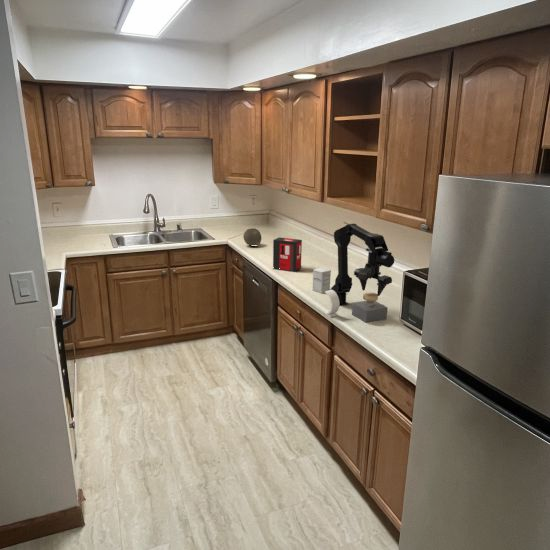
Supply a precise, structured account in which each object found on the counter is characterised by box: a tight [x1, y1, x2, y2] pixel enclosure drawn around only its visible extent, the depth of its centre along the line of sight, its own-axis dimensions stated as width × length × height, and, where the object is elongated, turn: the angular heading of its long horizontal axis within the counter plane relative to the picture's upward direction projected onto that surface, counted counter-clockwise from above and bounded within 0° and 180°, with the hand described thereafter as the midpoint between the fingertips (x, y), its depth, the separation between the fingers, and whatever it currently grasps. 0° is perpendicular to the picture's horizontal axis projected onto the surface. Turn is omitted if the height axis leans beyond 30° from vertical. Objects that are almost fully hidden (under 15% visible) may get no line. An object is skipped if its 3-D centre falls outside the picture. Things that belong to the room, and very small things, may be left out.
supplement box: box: [312, 267, 332, 294], centre depth 255 cm, size 7×7×13 cm
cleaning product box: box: [272, 236, 303, 273], centre depth 296 cm, size 16×9×20 cm, turn 65°
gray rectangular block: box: [351, 300, 388, 324], centre depth 219 cm, size 12×14×6 cm
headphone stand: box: [323, 289, 340, 318], centre depth 219 cm, size 5×6×12 cm
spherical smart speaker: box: [242, 227, 262, 246], centre depth 358 cm, size 14×14×15 cm
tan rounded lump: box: [362, 291, 379, 306], centre depth 217 cm, size 7×7×6 cm
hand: (370, 293), depth 214 cm, fingers open, 9 cm apart
